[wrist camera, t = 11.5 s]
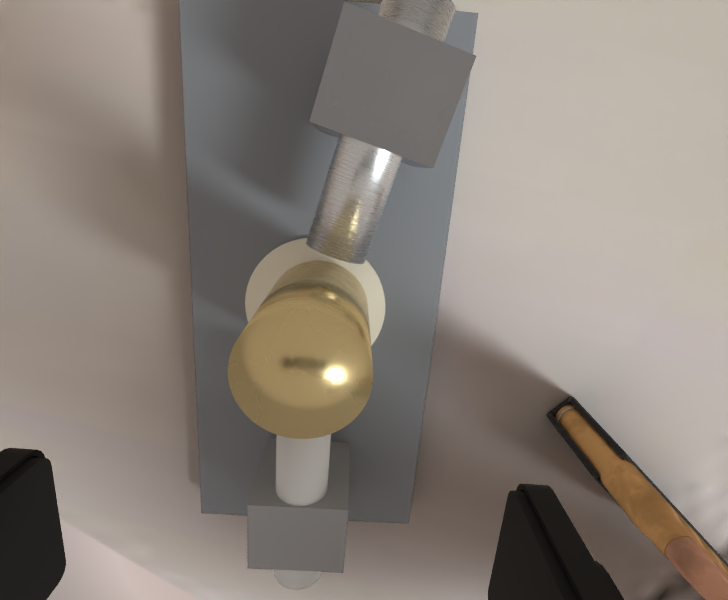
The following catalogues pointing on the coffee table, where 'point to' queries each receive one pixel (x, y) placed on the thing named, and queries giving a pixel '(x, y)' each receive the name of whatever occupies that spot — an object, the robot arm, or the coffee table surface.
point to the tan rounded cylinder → (305, 354)
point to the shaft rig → (288, 248)
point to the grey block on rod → (382, 113)
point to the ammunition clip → (642, 501)
